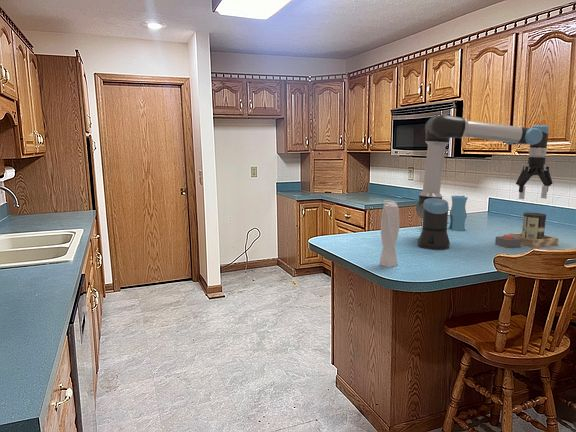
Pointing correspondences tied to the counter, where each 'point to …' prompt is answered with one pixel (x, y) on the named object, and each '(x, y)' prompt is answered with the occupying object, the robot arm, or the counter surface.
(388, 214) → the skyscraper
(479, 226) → the counter surface
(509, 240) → the button box
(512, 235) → the button
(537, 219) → the coffee can
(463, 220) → the vase
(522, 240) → the woven basket tray
